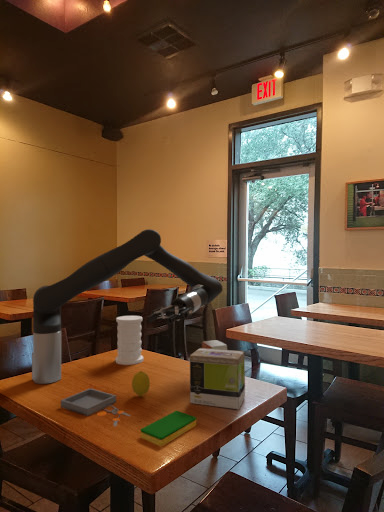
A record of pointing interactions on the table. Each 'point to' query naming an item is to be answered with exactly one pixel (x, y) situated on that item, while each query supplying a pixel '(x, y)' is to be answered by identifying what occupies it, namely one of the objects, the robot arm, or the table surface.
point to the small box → (214, 345)
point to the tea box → (217, 378)
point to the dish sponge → (168, 428)
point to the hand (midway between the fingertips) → (158, 320)
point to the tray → (88, 401)
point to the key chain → (113, 413)
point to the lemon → (140, 383)
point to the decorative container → (129, 340)
